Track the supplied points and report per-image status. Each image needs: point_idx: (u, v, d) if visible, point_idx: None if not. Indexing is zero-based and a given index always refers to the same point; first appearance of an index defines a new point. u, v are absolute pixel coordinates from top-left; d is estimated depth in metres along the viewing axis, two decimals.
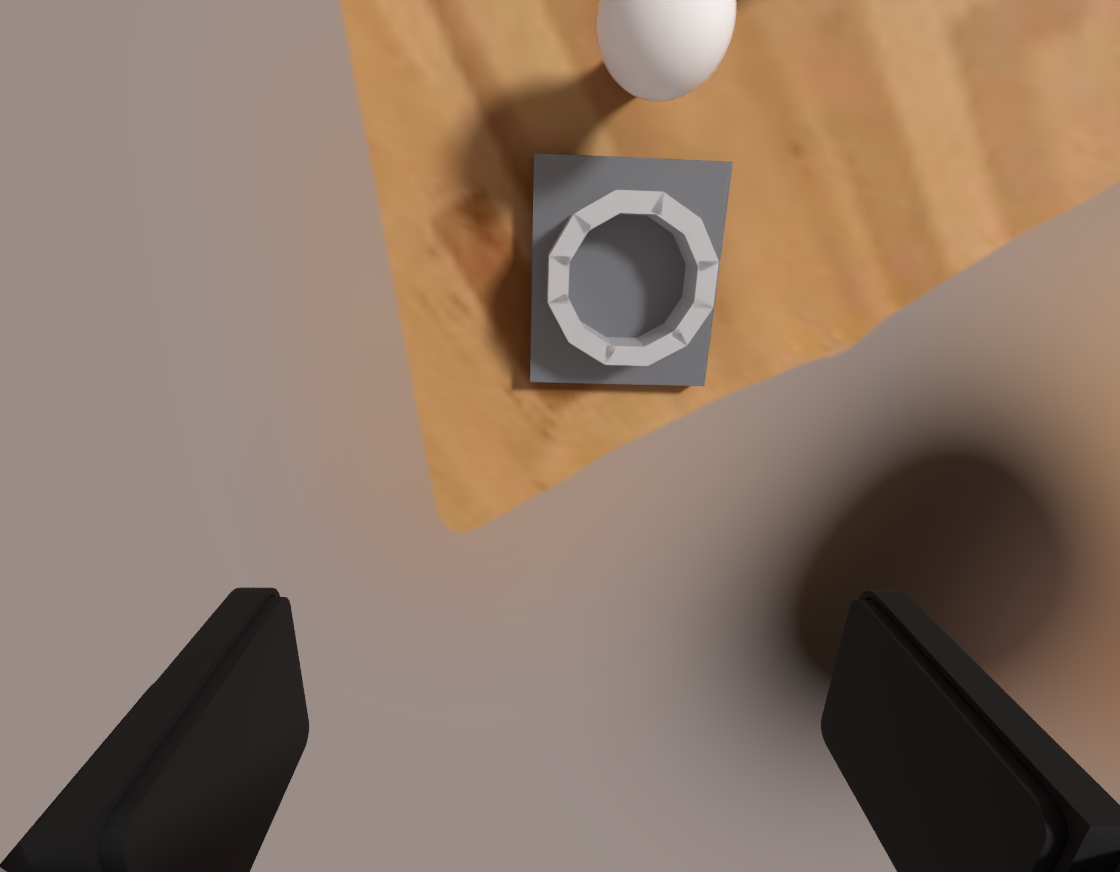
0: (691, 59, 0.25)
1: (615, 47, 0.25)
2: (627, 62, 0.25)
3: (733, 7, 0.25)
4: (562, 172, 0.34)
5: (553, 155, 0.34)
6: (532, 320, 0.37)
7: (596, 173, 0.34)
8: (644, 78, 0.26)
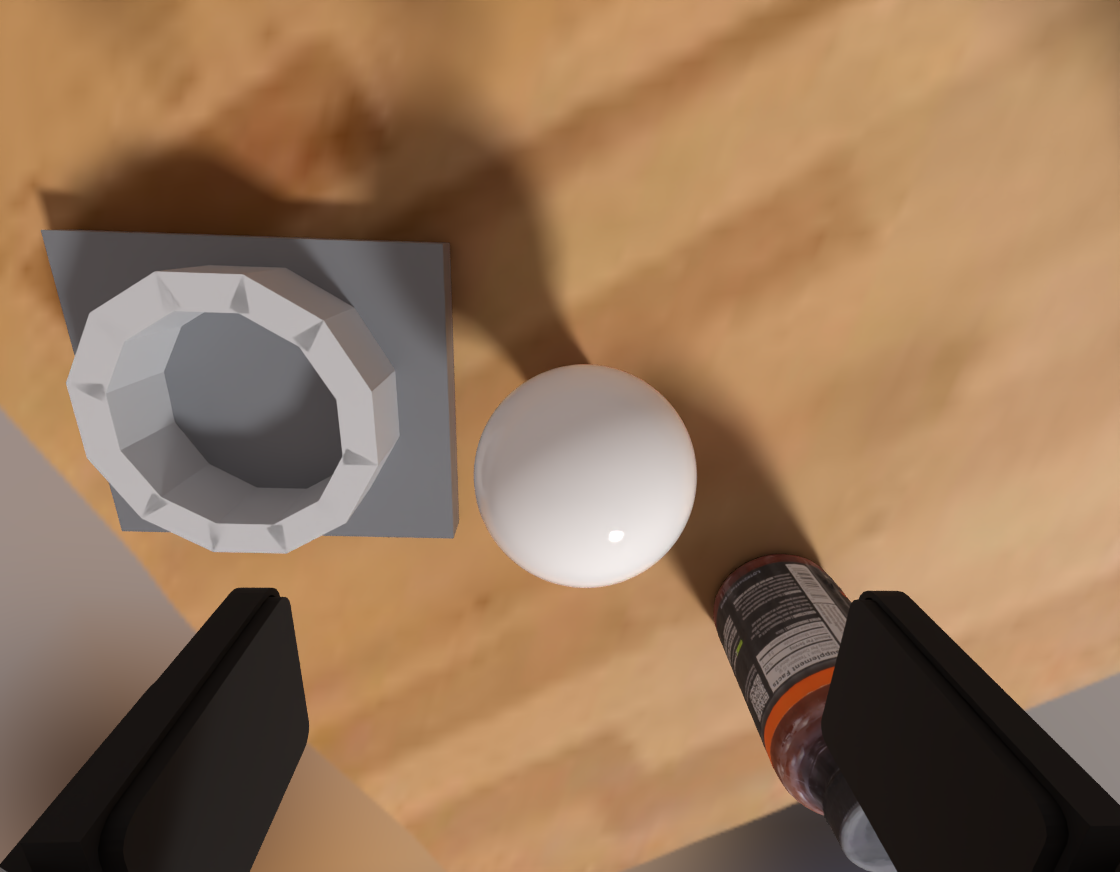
0: (509, 541, 0.14)
1: (532, 410, 0.14)
2: (509, 432, 0.14)
3: (588, 587, 0.16)
4: (417, 292, 0.21)
5: (441, 277, 0.20)
6: (161, 236, 0.20)
7: (421, 348, 0.21)
8: (487, 460, 0.15)
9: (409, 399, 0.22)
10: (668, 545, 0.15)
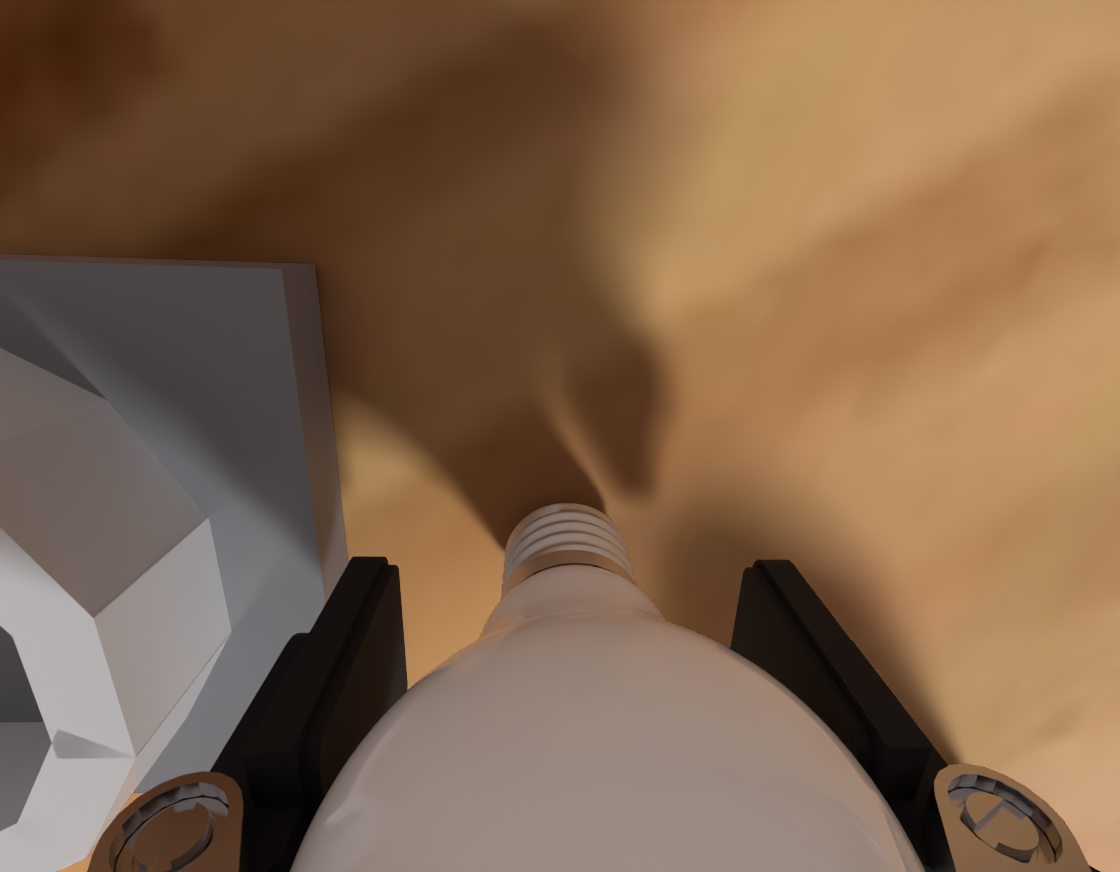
0: None
1: None
2: None
3: None
4: (238, 370, 0.10)
5: (286, 339, 0.10)
6: None
7: (257, 476, 0.11)
8: None
9: (243, 569, 0.11)
10: None
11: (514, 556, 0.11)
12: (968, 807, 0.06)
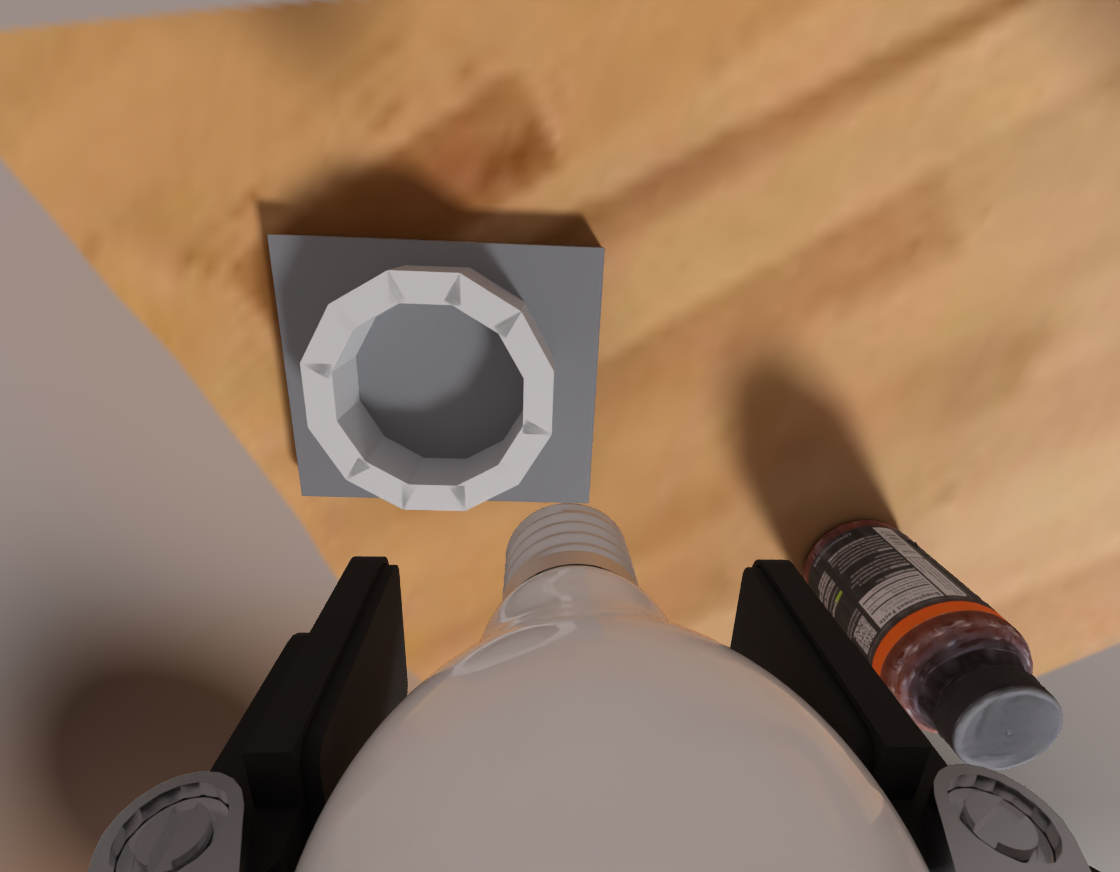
0: None
1: None
2: None
3: None
4: (579, 289, 0.24)
5: (601, 276, 0.24)
6: (368, 240, 0.23)
7: (577, 337, 0.25)
8: None
9: (563, 380, 0.26)
10: None
11: (515, 557, 0.11)
12: (967, 807, 0.06)
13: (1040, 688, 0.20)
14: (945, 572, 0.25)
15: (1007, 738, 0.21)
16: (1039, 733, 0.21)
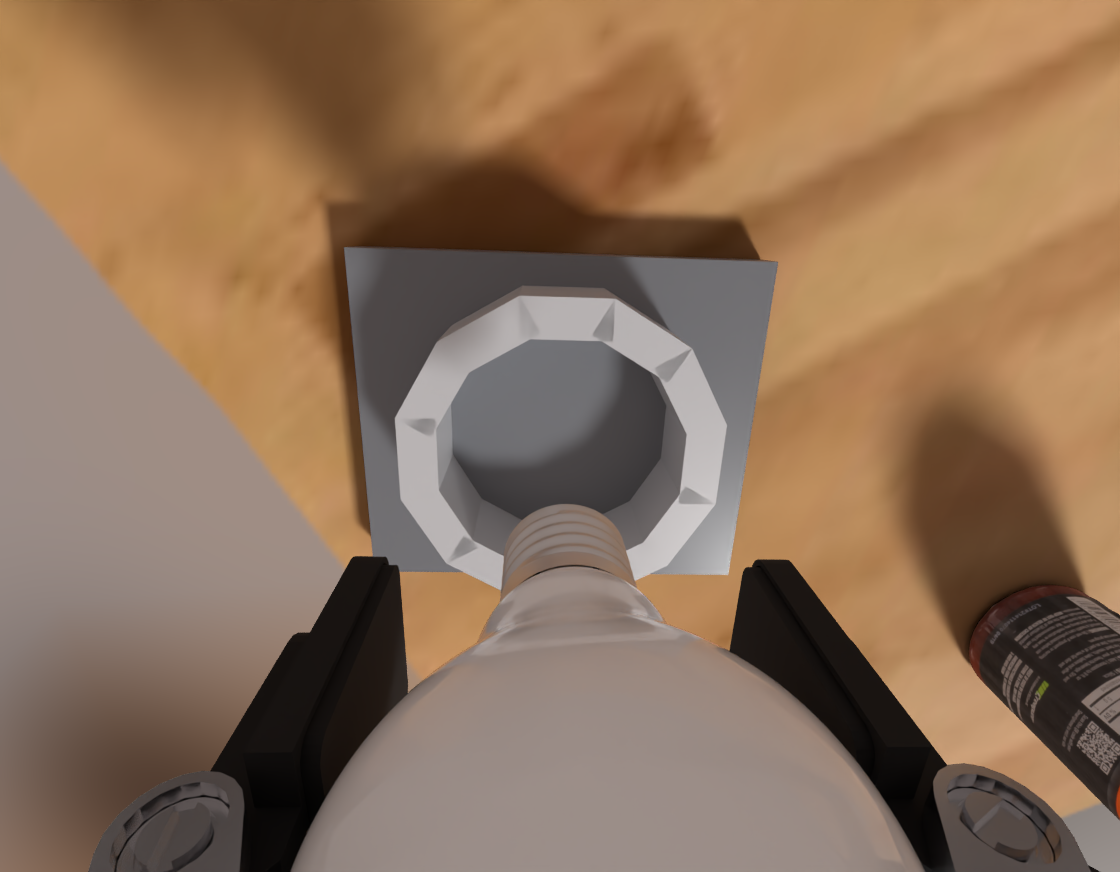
0: None
1: None
2: None
3: None
4: (741, 314, 0.19)
5: (769, 298, 0.19)
6: (475, 254, 0.18)
7: (733, 374, 0.20)
8: None
9: None
10: None
11: (513, 558, 0.11)
12: (966, 806, 0.06)
13: None
14: None
15: None
16: None
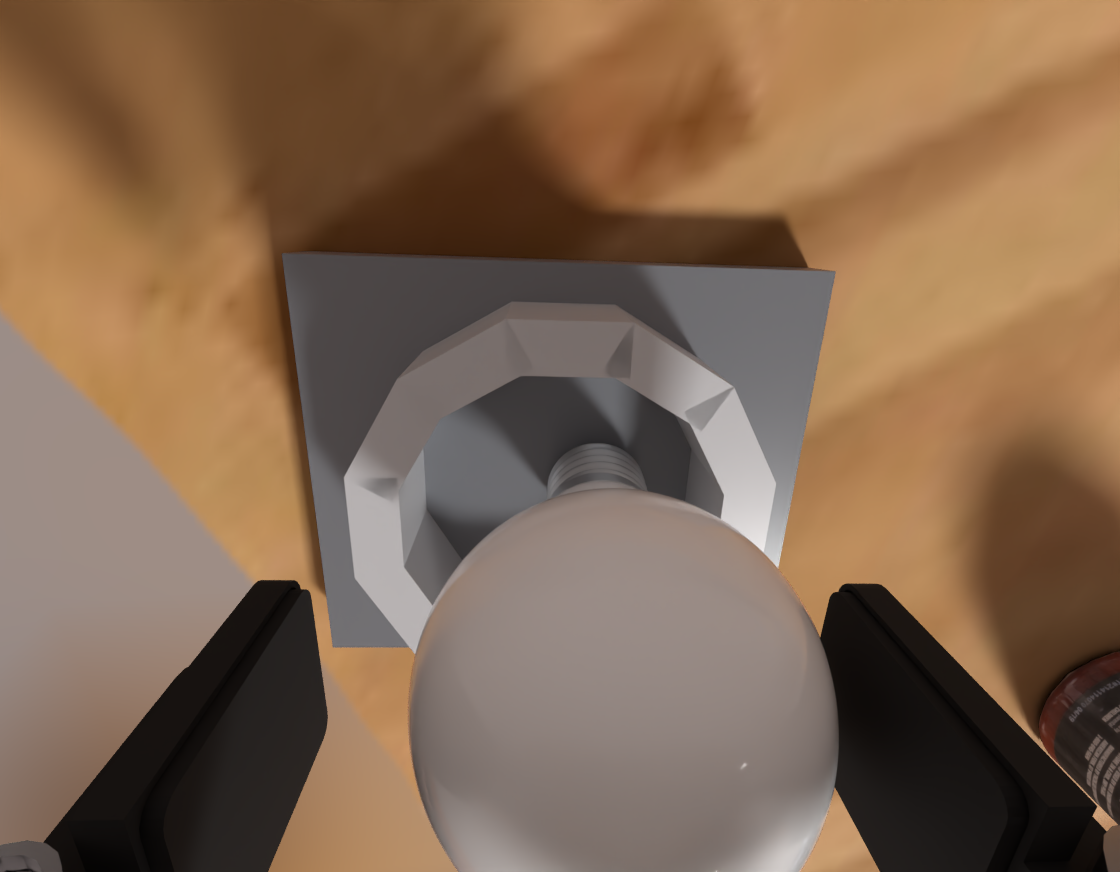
0: None
1: (512, 626, 0.07)
2: (463, 667, 0.07)
3: None
4: (787, 337, 0.15)
5: (823, 316, 0.15)
6: (451, 262, 0.14)
7: (775, 410, 0.16)
8: (423, 712, 0.07)
9: None
10: None
11: (555, 481, 0.14)
12: None
13: None
14: None
15: None
16: None
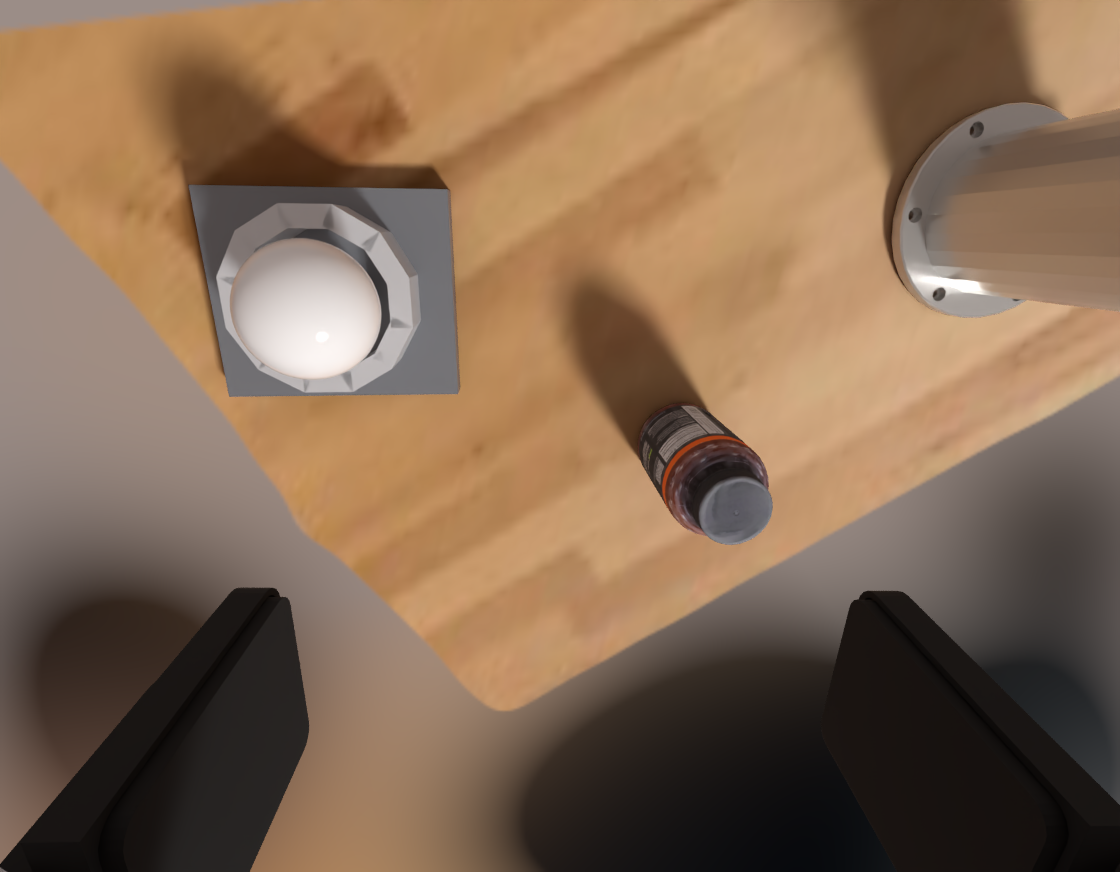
0: (245, 338, 0.24)
1: (253, 257, 0.24)
2: (241, 271, 0.24)
3: (307, 374, 0.25)
4: (431, 221, 0.32)
5: (447, 211, 0.32)
6: (267, 187, 0.31)
7: (434, 259, 0.33)
8: (231, 291, 0.24)
9: (427, 294, 0.34)
10: (347, 340, 0.25)
11: None
12: None
13: (752, 477, 0.29)
14: (719, 425, 0.34)
15: (736, 517, 0.29)
16: (757, 511, 0.29)
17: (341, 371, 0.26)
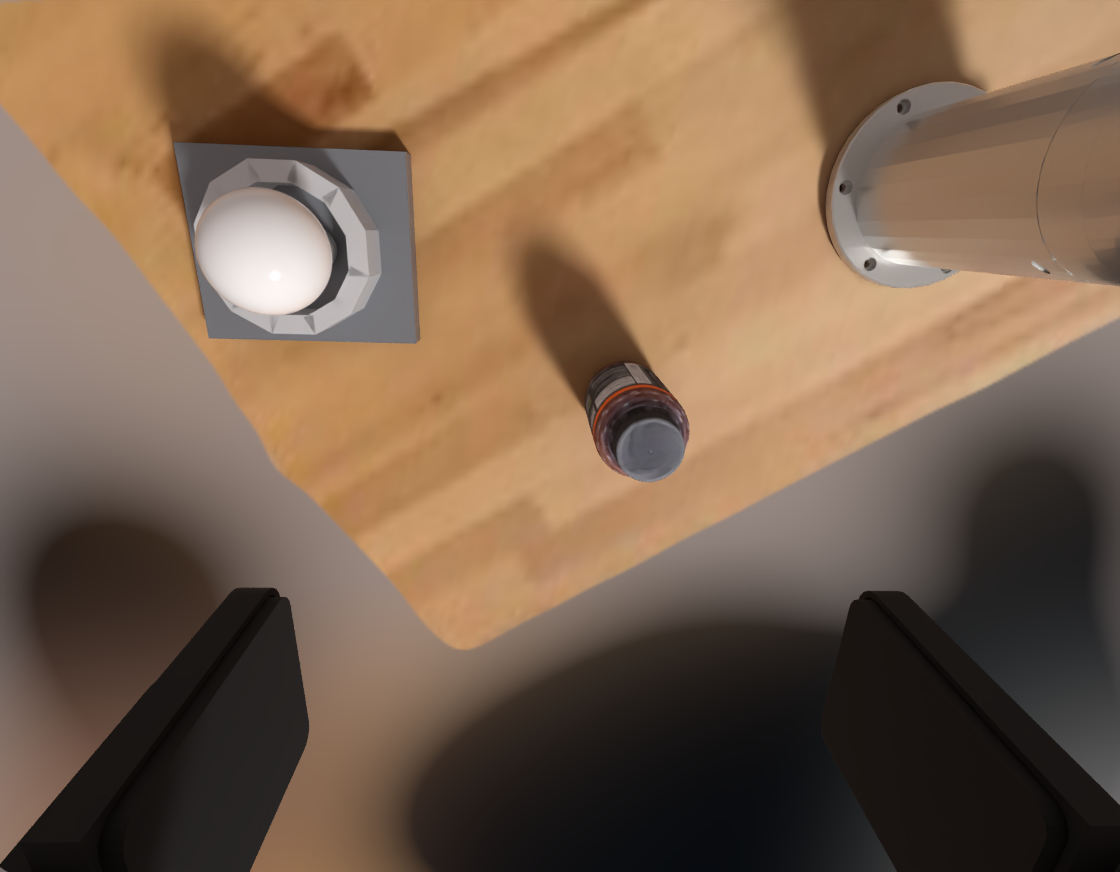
0: (206, 273, 0.28)
1: (214, 201, 0.27)
2: (203, 213, 0.27)
3: (261, 308, 0.29)
4: (391, 181, 0.36)
5: (405, 172, 0.35)
6: (243, 146, 0.35)
7: (393, 216, 0.36)
8: None
9: (387, 249, 0.37)
10: (295, 278, 0.28)
11: None
12: None
13: (665, 419, 0.32)
14: (651, 378, 0.37)
15: (650, 456, 0.32)
16: (670, 451, 0.32)
17: (293, 308, 0.29)
